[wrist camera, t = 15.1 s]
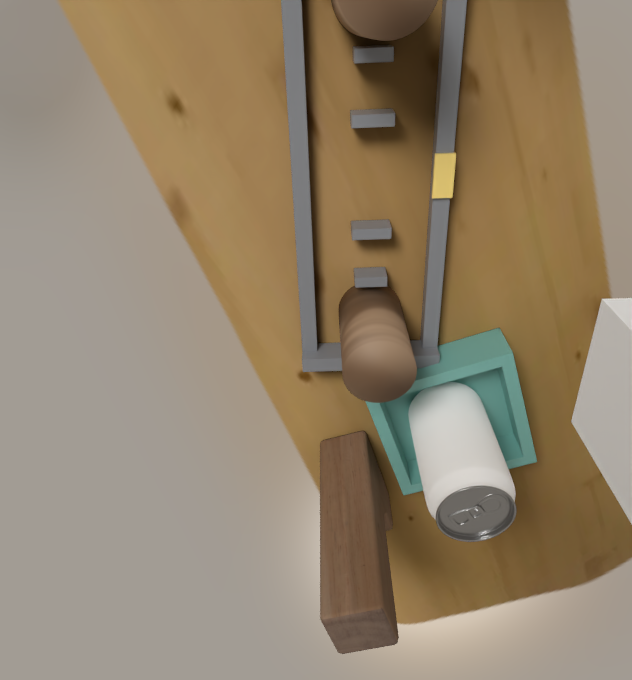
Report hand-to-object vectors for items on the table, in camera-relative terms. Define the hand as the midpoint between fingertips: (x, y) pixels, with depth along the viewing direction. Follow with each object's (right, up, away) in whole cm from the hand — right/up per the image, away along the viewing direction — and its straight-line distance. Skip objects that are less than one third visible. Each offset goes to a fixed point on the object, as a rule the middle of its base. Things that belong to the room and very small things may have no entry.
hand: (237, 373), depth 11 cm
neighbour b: (+6, +3, +35) cm, 36 cm away
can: (+13, -5, +40) cm, 42 cm away
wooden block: (+5, -12, +44) cm, 46 cm away
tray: (+13, -5, +40) cm, 42 cm away
